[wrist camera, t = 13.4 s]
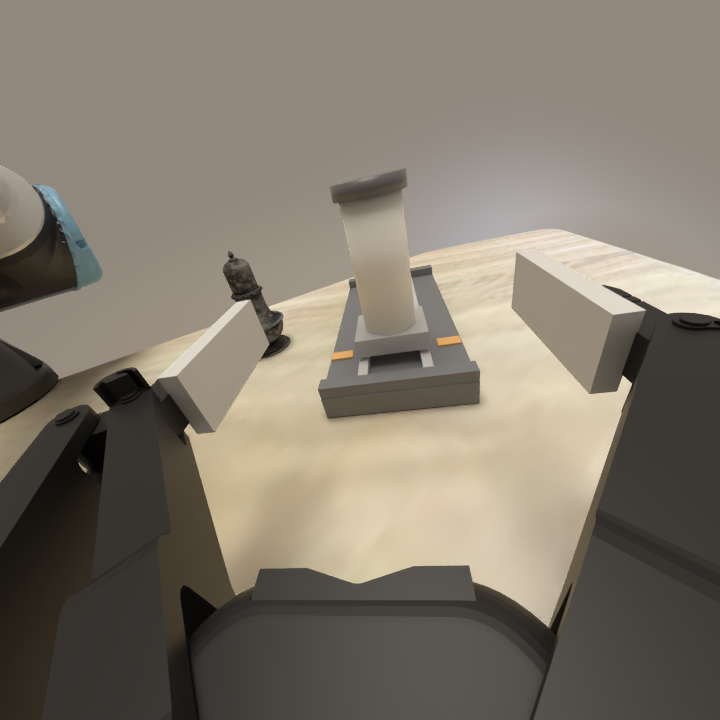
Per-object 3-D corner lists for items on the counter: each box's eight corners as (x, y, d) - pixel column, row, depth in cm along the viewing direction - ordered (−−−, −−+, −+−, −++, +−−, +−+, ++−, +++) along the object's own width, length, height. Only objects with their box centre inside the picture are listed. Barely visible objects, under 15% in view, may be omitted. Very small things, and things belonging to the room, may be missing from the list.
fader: (358, 358, 25) (317, 190, 18) (362, 329, 29) (329, 185, 22) (430, 349, 24) (415, 167, 17) (422, 320, 28) (408, 166, 21)
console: (327, 417, 24) (317, 390, 22) (353, 297, 46) (349, 279, 44) (479, 402, 22) (480, 371, 20) (431, 284, 44) (430, 264, 42)
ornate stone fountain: (238, 354, 37) (190, 260, 31) (273, 332, 41) (237, 243, 34) (266, 363, 34) (218, 260, 27) (301, 338, 37) (267, 241, 31)
